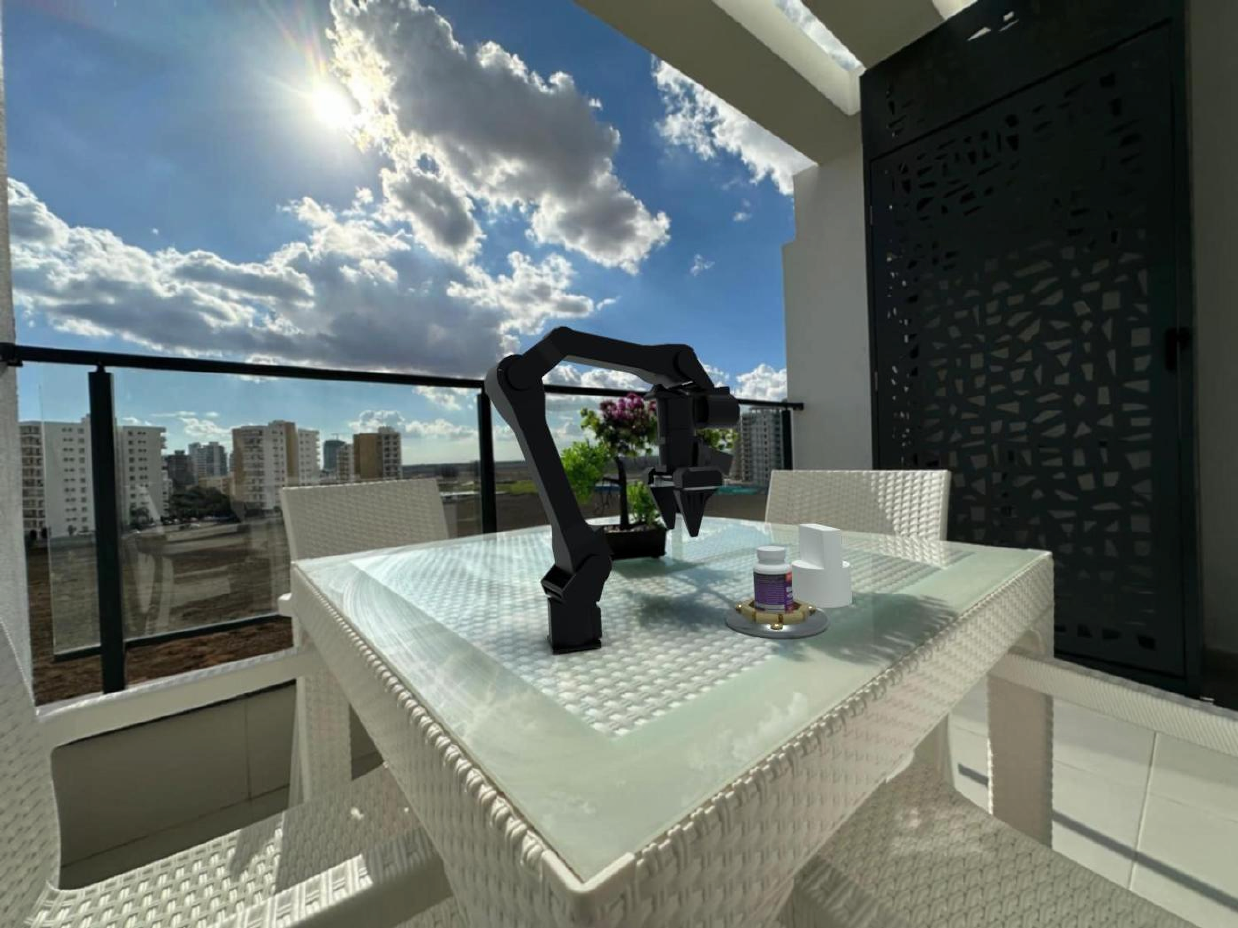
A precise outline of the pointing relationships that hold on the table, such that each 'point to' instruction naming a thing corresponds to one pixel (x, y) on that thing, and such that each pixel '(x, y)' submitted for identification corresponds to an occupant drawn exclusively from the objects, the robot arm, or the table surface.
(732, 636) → the table surface
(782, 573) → the pill bottle
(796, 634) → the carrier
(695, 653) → the table surface
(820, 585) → the base with upright slab
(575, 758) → the table surface
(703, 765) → the table surface
